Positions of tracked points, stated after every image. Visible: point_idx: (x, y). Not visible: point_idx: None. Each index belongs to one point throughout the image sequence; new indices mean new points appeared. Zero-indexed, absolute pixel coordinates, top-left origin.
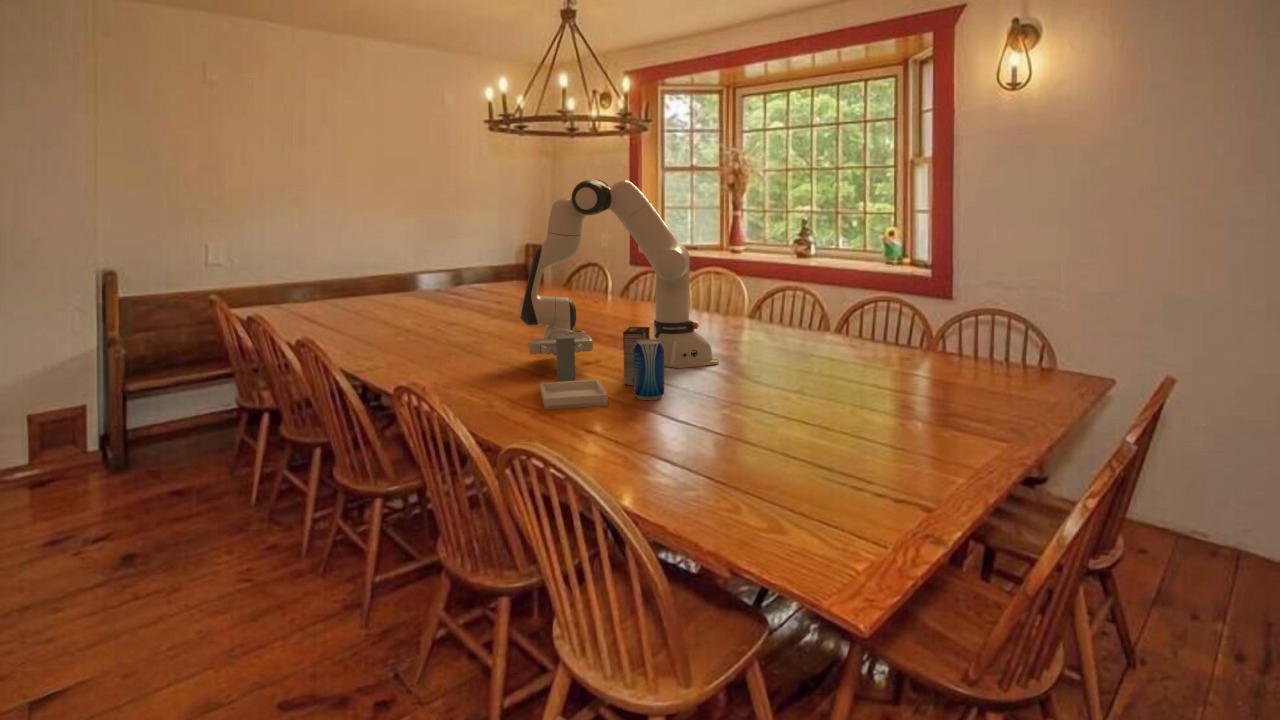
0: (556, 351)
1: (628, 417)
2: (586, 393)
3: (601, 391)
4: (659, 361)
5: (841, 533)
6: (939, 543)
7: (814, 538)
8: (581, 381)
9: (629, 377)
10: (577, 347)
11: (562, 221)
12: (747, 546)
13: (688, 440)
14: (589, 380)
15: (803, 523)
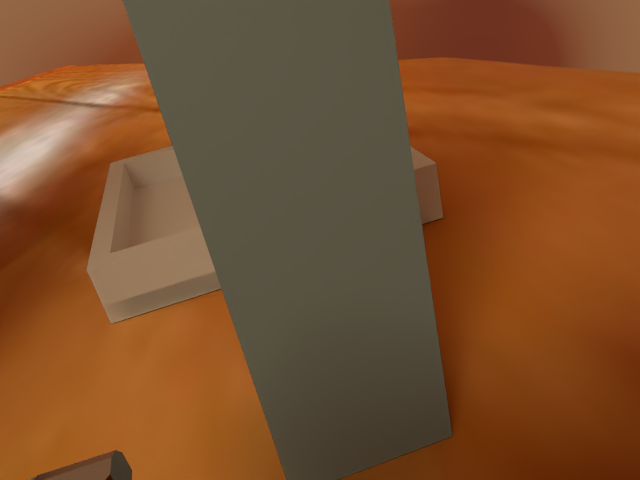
0: (402, 139)
1: (91, 168)
2: (191, 219)
3: (123, 184)
4: None
5: (3, 94)
6: None
7: (31, 86)
8: (199, 227)
9: None
10: (71, 468)
11: None
12: (92, 70)
13: (19, 143)
14: (149, 245)
15: (23, 92)
